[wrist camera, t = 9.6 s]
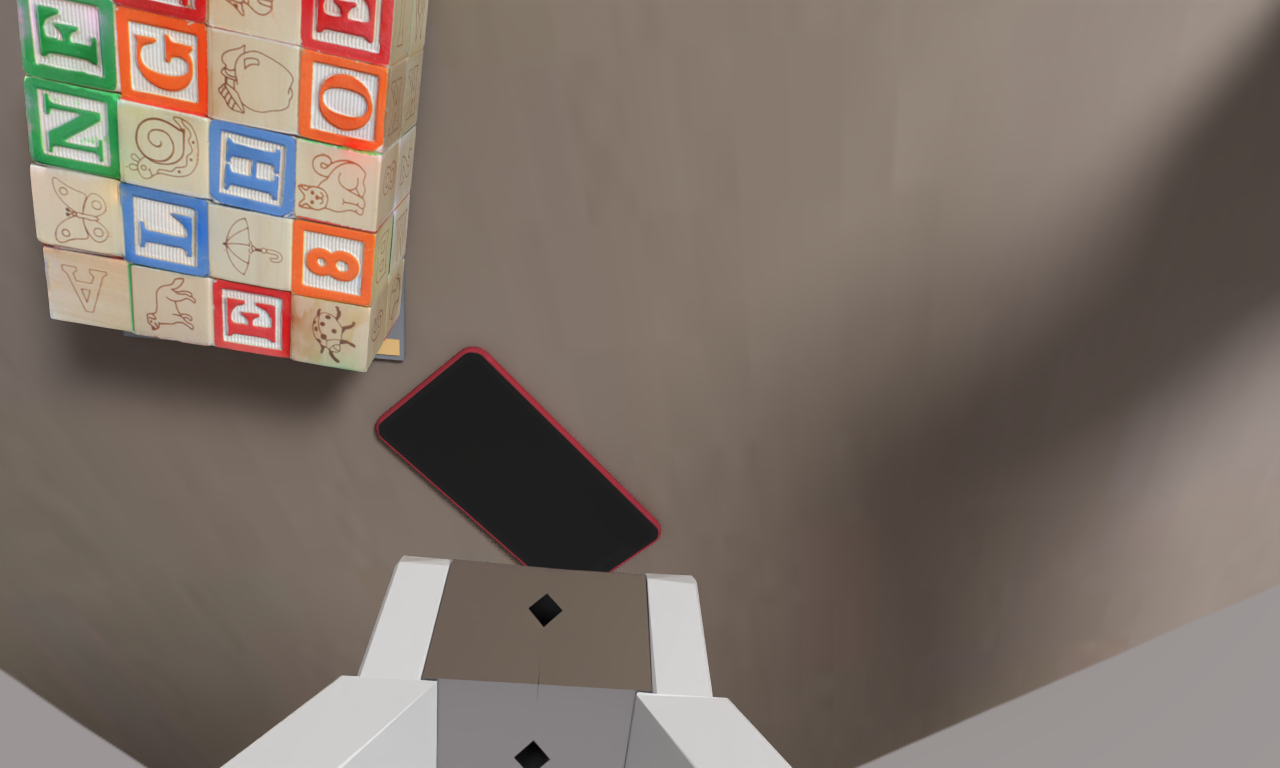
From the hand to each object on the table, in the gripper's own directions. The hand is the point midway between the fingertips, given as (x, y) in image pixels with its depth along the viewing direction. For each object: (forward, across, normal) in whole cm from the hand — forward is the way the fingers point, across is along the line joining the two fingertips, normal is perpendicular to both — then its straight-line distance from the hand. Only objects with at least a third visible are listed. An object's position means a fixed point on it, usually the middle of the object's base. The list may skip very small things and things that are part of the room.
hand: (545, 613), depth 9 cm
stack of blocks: (+27, +7, 0) cm, 28 cm away
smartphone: (+31, +2, +19) cm, 37 cm away
